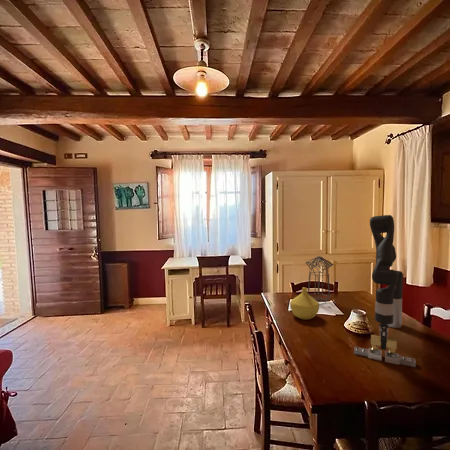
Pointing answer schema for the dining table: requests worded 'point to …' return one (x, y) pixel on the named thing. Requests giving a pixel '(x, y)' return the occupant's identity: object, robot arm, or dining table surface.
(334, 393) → the dining table surface
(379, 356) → the chain ends
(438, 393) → the dining table surface
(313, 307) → the vase
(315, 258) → the geometric lantern
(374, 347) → the master link
